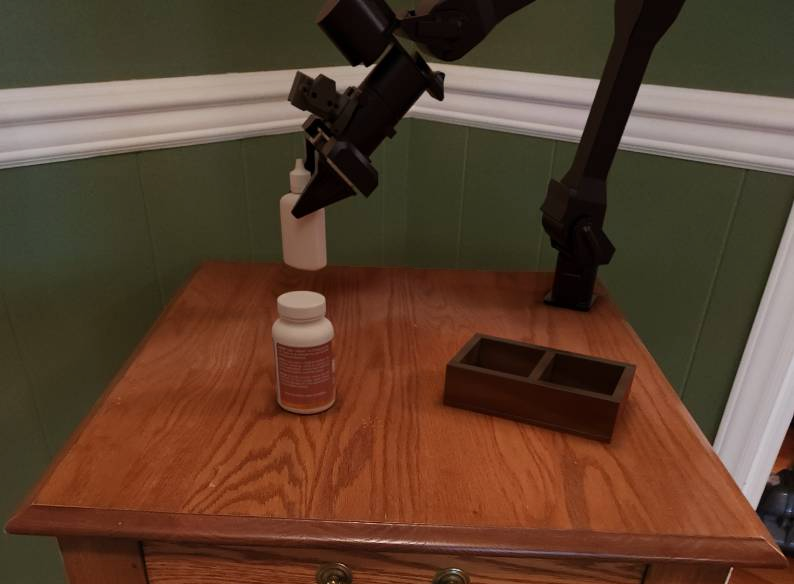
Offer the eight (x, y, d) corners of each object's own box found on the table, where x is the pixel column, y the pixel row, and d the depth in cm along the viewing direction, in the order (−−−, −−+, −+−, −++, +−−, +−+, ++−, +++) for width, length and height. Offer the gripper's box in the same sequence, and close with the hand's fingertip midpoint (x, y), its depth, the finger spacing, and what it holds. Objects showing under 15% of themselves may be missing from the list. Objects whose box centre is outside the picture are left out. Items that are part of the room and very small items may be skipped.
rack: (471, 370, 84) (476, 332, 82) (626, 404, 79) (637, 364, 76) (442, 404, 78) (446, 364, 75) (609, 444, 72) (620, 402, 69)
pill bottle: (346, 407, 76) (345, 303, 70) (294, 421, 74) (287, 315, 67) (317, 384, 80) (314, 283, 74) (267, 397, 78) (258, 294, 71)
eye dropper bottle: (312, 256, 94) (307, 153, 86) (330, 269, 90) (326, 162, 83) (280, 260, 92) (272, 156, 85) (297, 274, 88) (290, 166, 81)
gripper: (315, 33, 85) (230, 142, 89) (347, 49, 70) (244, 177, 75) (380, 110, 91) (298, 208, 96) (421, 138, 77) (322, 251, 82)
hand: (290, 209), depth 87 cm, fingers closed on eye dropper bottle, 5 cm apart
